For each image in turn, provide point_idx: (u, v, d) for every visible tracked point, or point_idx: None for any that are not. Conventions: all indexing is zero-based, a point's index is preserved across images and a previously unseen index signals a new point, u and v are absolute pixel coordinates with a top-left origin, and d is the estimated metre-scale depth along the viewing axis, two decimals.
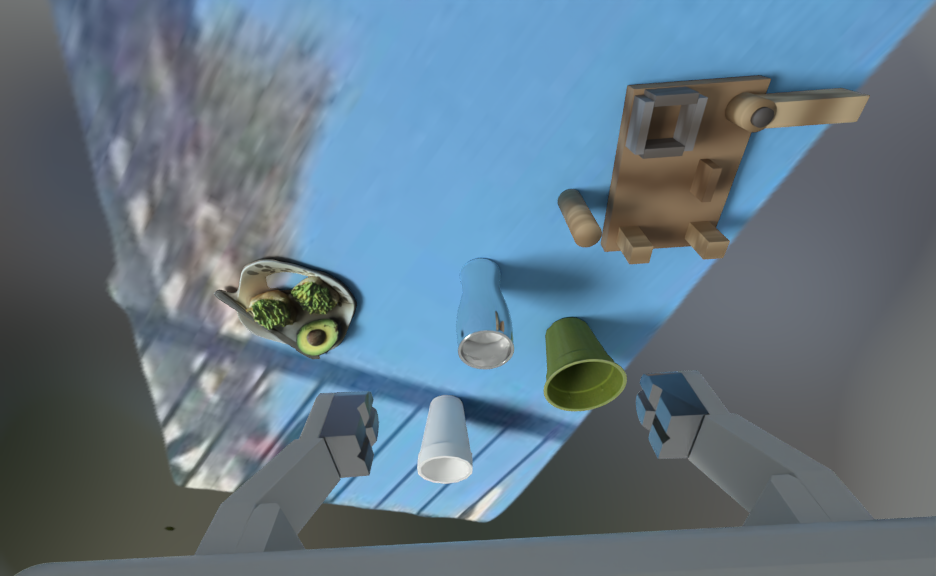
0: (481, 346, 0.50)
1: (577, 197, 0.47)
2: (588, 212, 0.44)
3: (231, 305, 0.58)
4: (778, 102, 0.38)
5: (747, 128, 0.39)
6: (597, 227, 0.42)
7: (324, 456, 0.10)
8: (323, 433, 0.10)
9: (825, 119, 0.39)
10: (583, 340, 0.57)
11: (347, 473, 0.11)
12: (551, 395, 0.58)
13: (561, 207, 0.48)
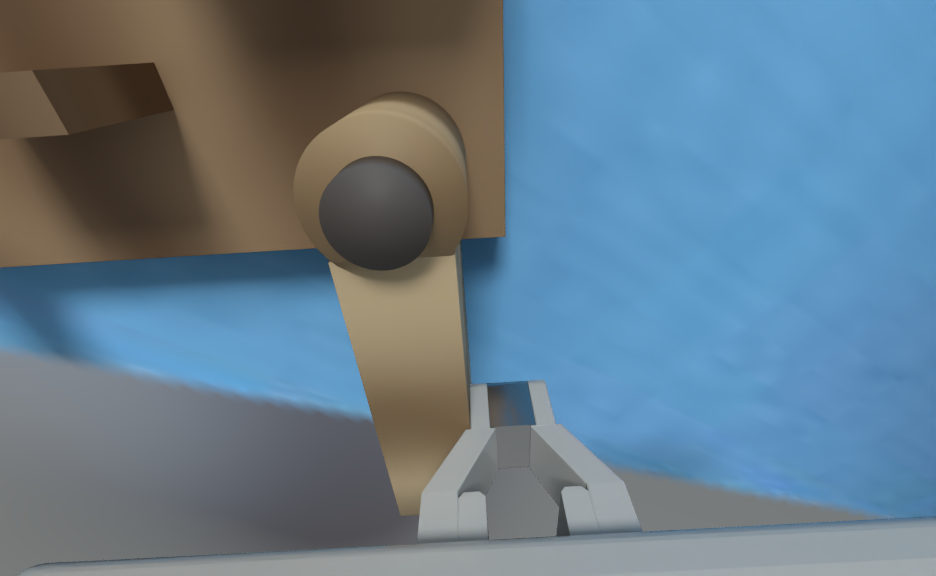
0: None
1: None
2: None
3: None
4: (454, 269, 0.08)
5: (306, 163, 0.06)
6: None
7: (494, 446, 0.10)
8: (493, 423, 0.10)
9: (398, 450, 0.10)
10: None
11: (505, 464, 0.11)
12: None
13: None
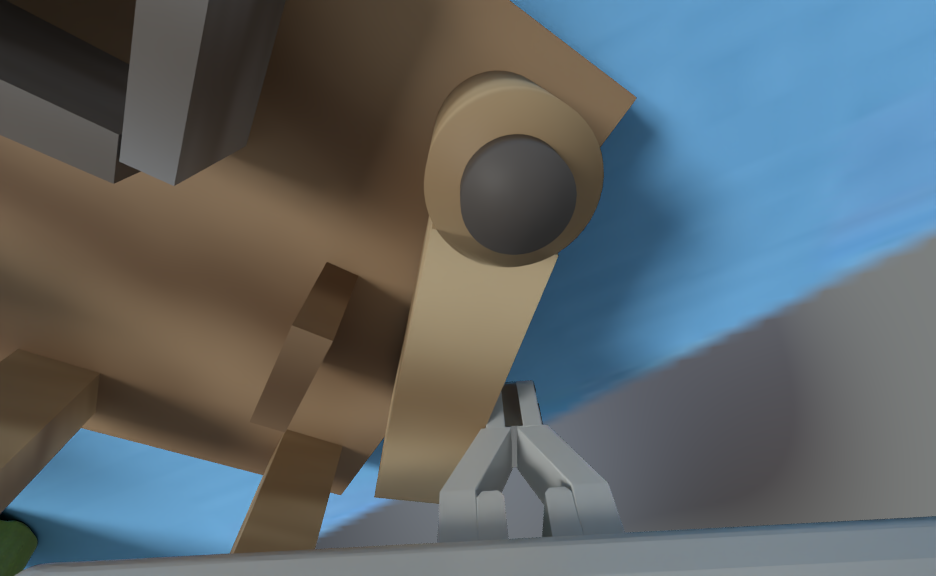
0: None
1: None
2: None
3: None
4: (548, 268, 0.08)
5: (462, 121, 0.06)
6: None
7: (509, 445, 0.10)
8: (508, 422, 0.10)
9: (406, 431, 0.10)
10: None
11: None
12: None
13: None
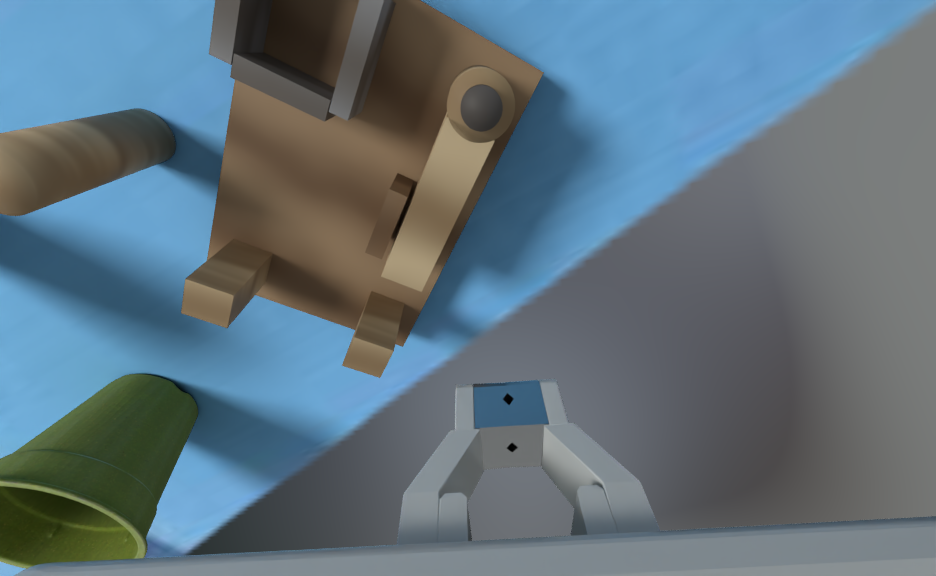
0: None
1: (123, 121, 0.20)
2: (70, 140, 0.17)
3: None
4: (490, 147, 0.18)
5: (466, 75, 0.16)
6: (16, 167, 0.15)
7: (478, 447, 0.10)
8: (477, 424, 0.10)
9: (409, 229, 0.20)
10: (110, 433, 0.27)
11: (491, 465, 0.11)
12: None
13: None
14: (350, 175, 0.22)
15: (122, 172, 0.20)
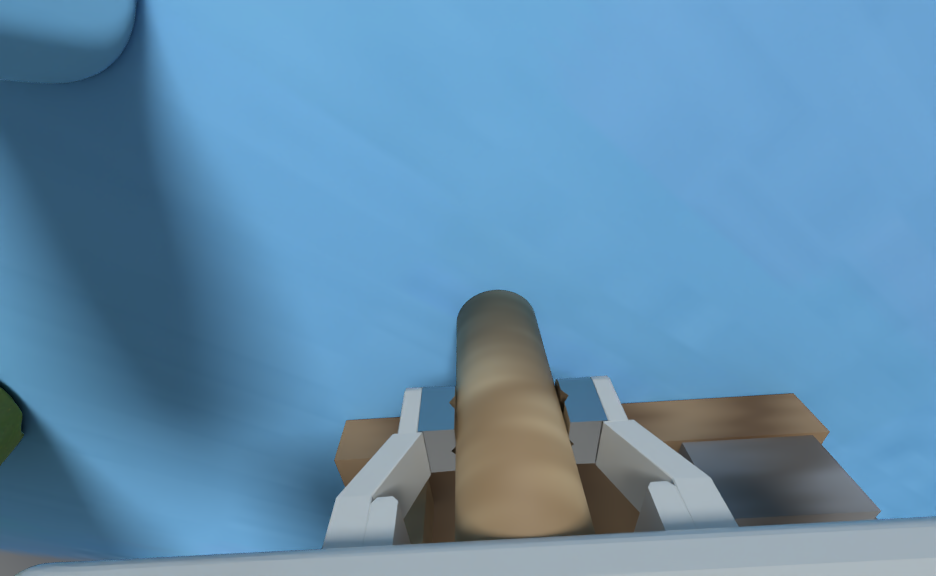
0: None
1: None
2: None
3: None
4: None
5: None
6: None
7: (421, 450, 0.10)
8: (420, 428, 0.10)
9: None
10: None
11: (438, 468, 0.11)
12: None
13: (504, 327, 0.12)
14: None
15: None
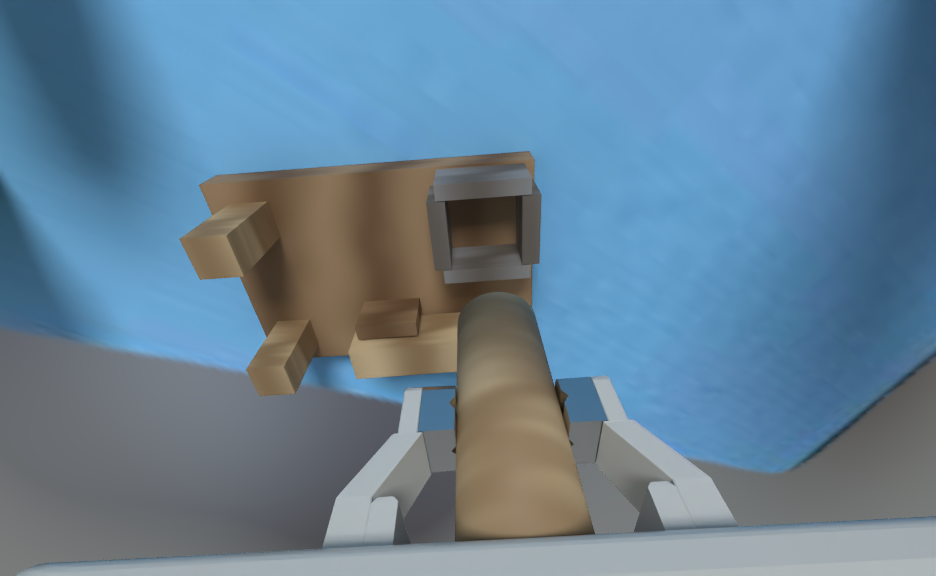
0: None
1: None
2: None
3: None
4: None
5: None
6: None
7: (422, 450, 0.10)
8: (421, 427, 0.10)
9: (399, 353, 0.25)
10: None
11: (438, 468, 0.11)
12: None
13: (504, 329, 0.12)
14: (395, 270, 0.27)
15: None
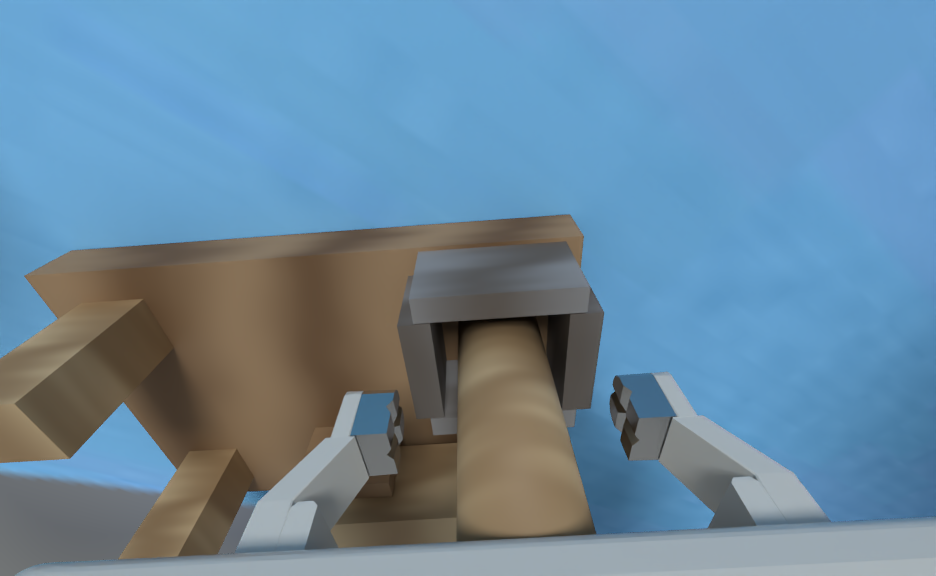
0: None
1: None
2: None
3: None
4: None
5: None
6: None
7: (355, 454, 0.10)
8: (353, 431, 0.10)
9: (363, 528, 0.16)
10: None
11: (376, 471, 0.11)
12: None
13: (504, 320, 0.13)
14: (360, 389, 0.17)
15: None
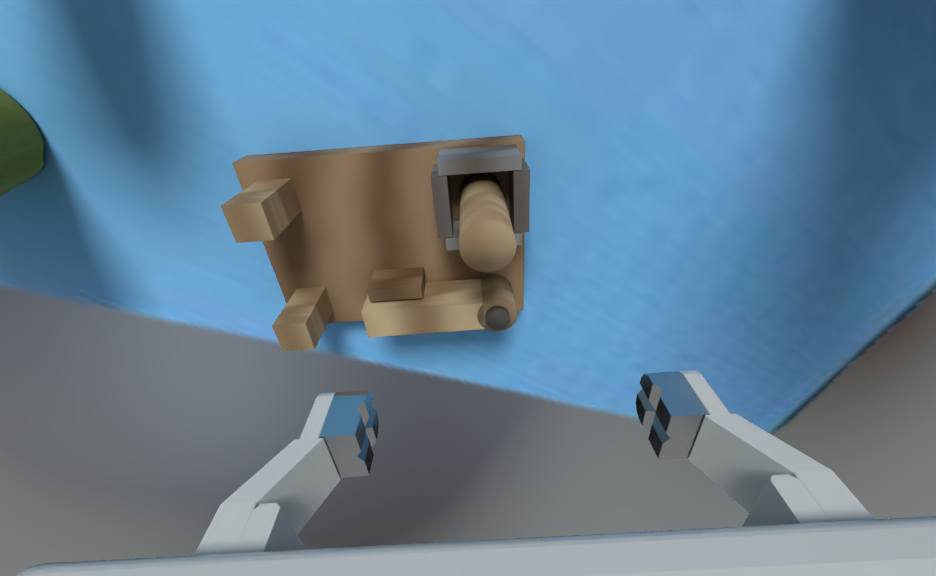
0: None
1: None
2: None
3: None
4: (479, 328, 0.30)
5: (508, 302, 0.28)
6: (506, 261, 0.21)
7: (324, 456, 0.10)
8: (322, 433, 0.10)
9: (406, 313, 0.29)
10: None
11: (347, 473, 0.11)
12: None
13: (483, 180, 0.25)
14: (403, 241, 0.30)
15: None
